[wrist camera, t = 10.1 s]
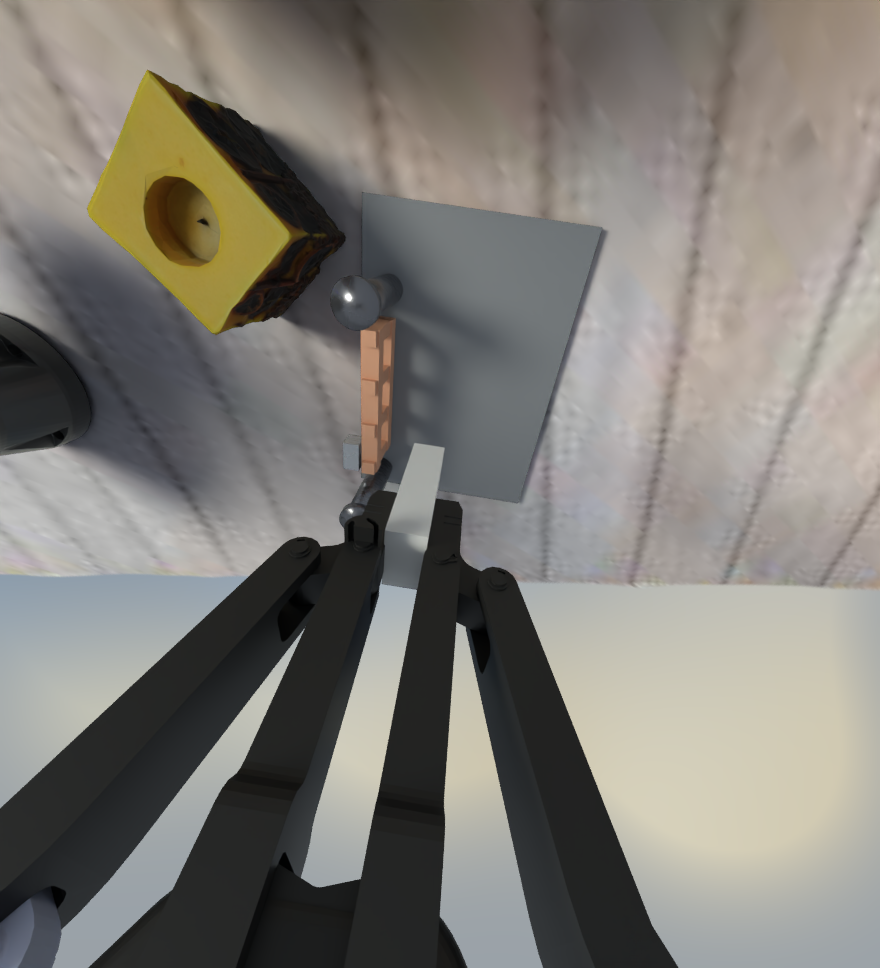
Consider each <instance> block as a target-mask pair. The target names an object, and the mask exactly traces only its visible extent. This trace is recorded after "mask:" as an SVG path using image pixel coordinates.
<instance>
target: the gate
mask: <svg viewBox="0 0 880 968" xmlns="http://www.w3.org/2000/svg"><path fill="white" fill-rule="evenodd" d="M395 327H396V318H392V317H385V316H379V318H378V320H377V321H376V322H375V323H374V324H373V325H372V326H370V327H369V328H367V329H365V330H361V446H362V473H365V474H371V475H374V474H375V472H377V471H378V469H379V467H380V465H381V460H382V458H383V456H384V454H385V452H386V451H388V449H389V447H390V445H391V422H392V398H393V375H394V351H395Z"/></svg>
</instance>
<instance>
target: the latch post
mask: <svg viewBox="0 0 880 968" xmlns="http://www.w3.org/2000/svg"><path fill="white" fill-rule="evenodd" d="M343 466H344V469H350V470H356V471H359V469H360V468H361V466H362V446H361V436H356V435H350V434H349V435H348V437H347V438H346V439H345V441H344V442H343ZM391 472H392V464H391V462H390V461H389V460H387V459H385V458H382V460H381V465H380V467H379V469H378V471H377V472H375V474H374V475H371V474H366V476H365V478H364V480H363V482H362V484H361V486H360V487H359V489H358V491H357V493H356V495H355V497H354V499H353V501H352V502H351V503H350V504H348V505H346V506H345V507H344V508H343V510H342V512H341V514H340V517H339V520H340V523H341V525H342V527H343V528H344V524H345V523H346V522H347V520H348V519H350V518H352V517H354V516H359V515H362V514H363V512H364V509H365V507H366V505H367V503H368V500H369V498H370V496H371V495H372V494H374V493H375V492H376V491H377V490H382V491H383V490H384V488H385V486H386V483H387V481H388V479H389V476H390V474H391Z"/></svg>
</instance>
